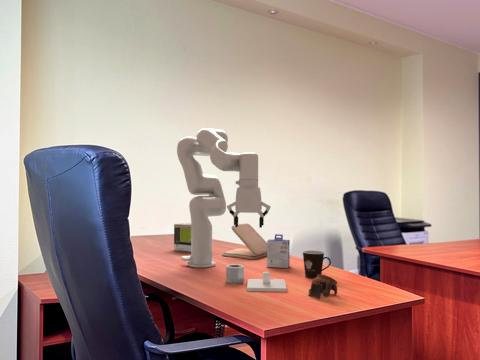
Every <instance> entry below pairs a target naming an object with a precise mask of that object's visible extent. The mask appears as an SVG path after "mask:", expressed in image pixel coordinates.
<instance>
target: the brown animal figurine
mask: <svg viewBox="0 0 480 360" xmlns="http://www.w3.org/2000/svg"><path fill="white" fill-rule="evenodd" d="M337 285H338V281H337V280H335V278H332V277H331V276H328V275H325V274H318V275H317V277H316V278H312V281H311V284H310V288H309V289H308V296H311V297H313V298H317V299H319V300H320V299H321V296H323V298H327V297H329V296H330V294H331V291H333V292H334V293H333V294H334V296H336V295H337V293H338V286H337Z"/></svg>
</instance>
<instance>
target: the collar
mask: <svg viewBox="0 0 480 360" xmlns="http://www.w3.org/2000/svg"><path fill="white" fill-rule="evenodd" d="M244 273H245V265H243V264H239V263H238V264H237V263H235V264H232V263H231V264H227V265H226V270H225V276H226V277H225V279H226V280H225V283H228V284H232V285H233V284H235V285H236V284H237V285H240V284H244V278H245V277H244V276H245V275H244Z"/></svg>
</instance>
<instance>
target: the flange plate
mask: <svg viewBox="0 0 480 360" xmlns="http://www.w3.org/2000/svg"><path fill="white" fill-rule="evenodd" d="M246 284H247V285H246V292H273V293H274V292H281V293H283V292H284V293H286V292H288V291H287V289H288V288H287V285H286V280H285V279H281V278H280V279H279V278H278V279H274V278H273V279H272V278H271V272H270V271H263V272H262V278H247V283H246Z"/></svg>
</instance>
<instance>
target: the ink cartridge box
mask: <svg viewBox="0 0 480 360" xmlns="http://www.w3.org/2000/svg"><path fill="white" fill-rule="evenodd" d="M283 237H284V234H280V233H279V234H278V233H276V234H274V239H272V238H270V239H268V240H267V241H266V242H267V256H266V268H279V269H280V268H281V269H283V268H284V269H288V268H289V267H290V254H291V253H290V252H291V250H290V248H291V247H290V243H291V242H290V239H284V238H283Z"/></svg>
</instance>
